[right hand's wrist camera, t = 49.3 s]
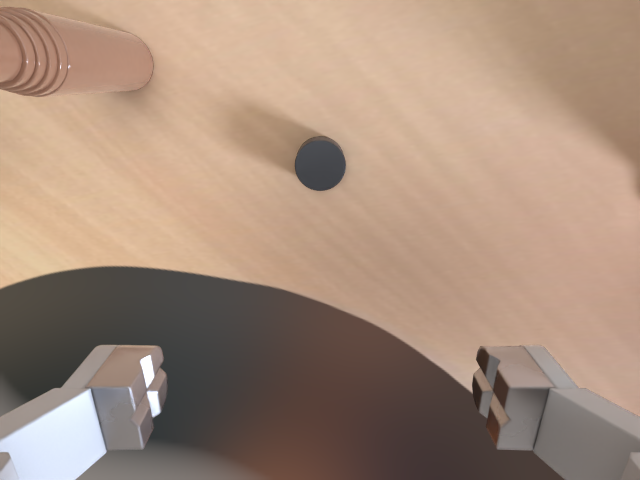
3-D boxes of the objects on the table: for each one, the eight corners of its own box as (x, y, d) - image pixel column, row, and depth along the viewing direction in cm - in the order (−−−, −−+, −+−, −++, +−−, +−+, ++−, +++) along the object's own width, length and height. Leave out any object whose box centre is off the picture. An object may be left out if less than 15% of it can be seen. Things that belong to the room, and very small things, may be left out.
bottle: (112, 96, 35) (-83, 114, 18) (89, 39, 33) (-148, 0, 16) (161, 83, 35) (9, 88, 18) (141, 25, 33) (-48, -31, 16)
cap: (336, 130, 36) (337, 133, 34) (349, 176, 38) (351, 182, 35) (290, 144, 36) (288, 148, 34) (304, 189, 38) (303, 196, 36)
